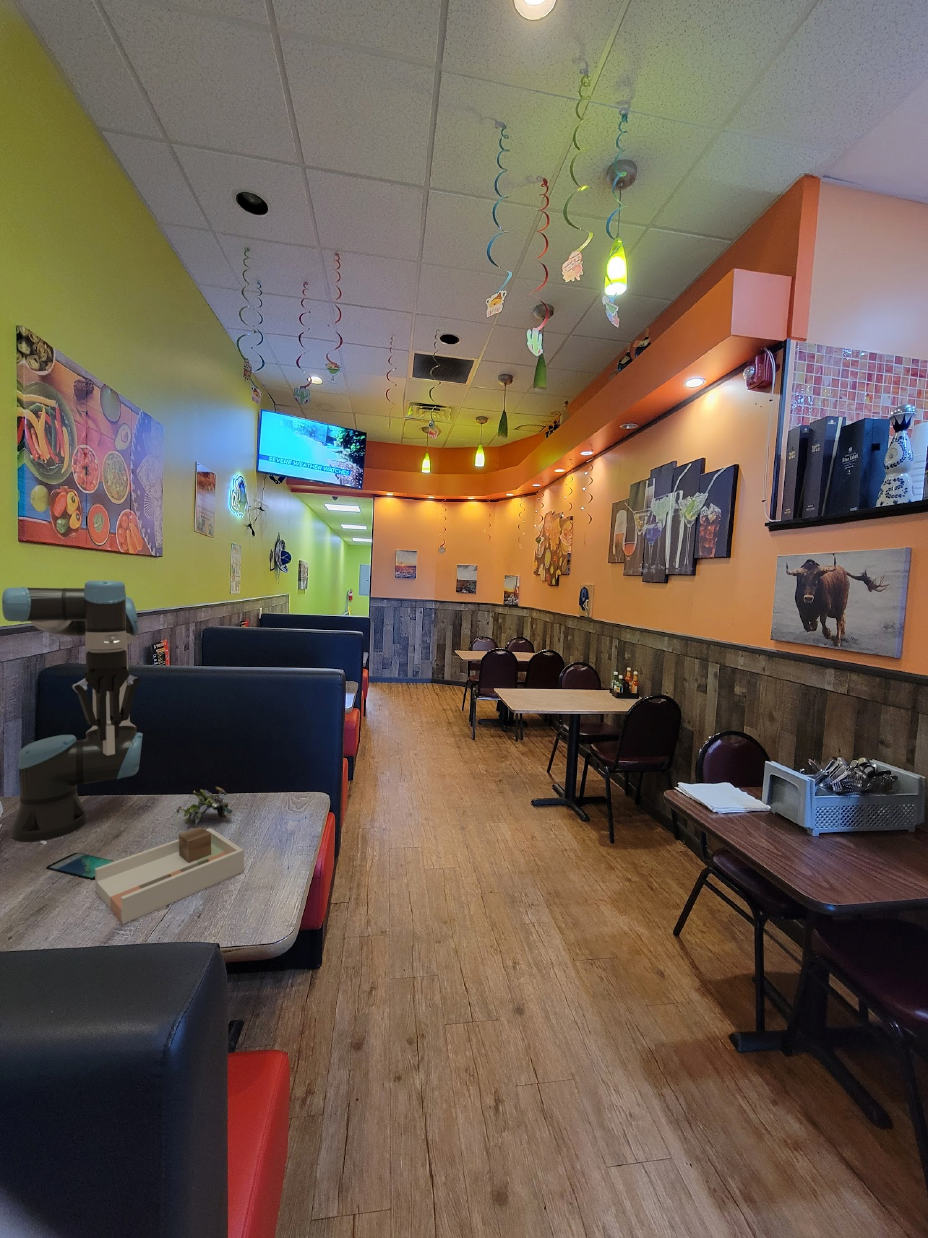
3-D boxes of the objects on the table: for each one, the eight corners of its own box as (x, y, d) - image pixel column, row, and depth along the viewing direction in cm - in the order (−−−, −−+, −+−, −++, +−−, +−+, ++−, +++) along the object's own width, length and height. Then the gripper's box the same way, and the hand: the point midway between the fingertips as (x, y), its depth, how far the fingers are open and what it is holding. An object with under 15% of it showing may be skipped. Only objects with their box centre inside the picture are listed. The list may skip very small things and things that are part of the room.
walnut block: (179, 855, 119) (178, 834, 118) (201, 847, 123) (201, 826, 122) (188, 863, 115) (188, 841, 115) (211, 854, 119) (211, 833, 119)
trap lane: (95, 891, 108) (94, 868, 108) (210, 847, 127) (210, 828, 127) (123, 924, 98) (122, 899, 98) (243, 871, 117) (243, 850, 117)
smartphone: (75, 851, 123) (123, 862, 119) (75, 854, 123) (123, 865, 119) (43, 867, 116) (93, 879, 112) (44, 870, 116) (93, 882, 112)
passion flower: (220, 836, 144) (243, 805, 142) (185, 847, 134) (210, 813, 132) (200, 806, 148) (223, 775, 146) (165, 814, 138) (189, 781, 136)
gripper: (76, 654, 108) (79, 765, 109) (145, 649, 118) (147, 750, 119) (65, 650, 112) (68, 756, 114) (132, 645, 122) (134, 743, 124)
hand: (109, 753), depth 117 cm, fingers closed
